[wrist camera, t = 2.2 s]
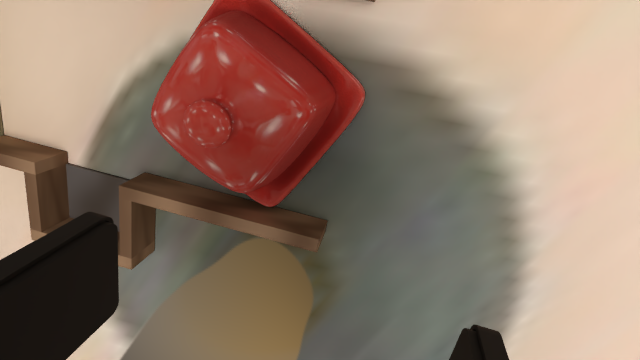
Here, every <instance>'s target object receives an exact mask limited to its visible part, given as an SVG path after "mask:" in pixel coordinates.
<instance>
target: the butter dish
mask: <svg viewBox="0 0 640 360" xmlns="http://www.w3.org/2000/svg"><path fill="white" fill-rule="evenodd" d="M364 99H365V91H364V88H363V86H362V85H361V83H360V82H359V81H358V80H357V79H356V78H355V77H354V75H353V74H351V73H350V72H349V71H348V70H347V69H346V68H345V67H344V66H343V65H342V64H341V63H340V62H339V61H337V60H336V59H335V58H334V57H333V56H332V55H331V54H330V53H329V52H327V51H326V50H325V49H324V48H323V47H322V46H321V45H320V44H319V43H317V42H316V41H315V40H314V39H313V38H312V37H311V36H310V35H309V34H308V33H307V32H305V31H304V30H303V29H302V28H301V27H300V26H298V25H297V24H296V23H295V22H294V21H293V20H292V19H291V18H290V17H288V16H287V15H286V14H285V13H284V12H283V11H282V10H280V8H278V7H277V6H276V5H275V4H274V3H273V2H272V1H271V0H214V2H213V4H212V6H211V7H210V8H209V10H208V11H207V13H206V14H205V16H204V17H203V19H202V21H201V22H200V24H199V25H198V27H197V28H196V30H195V32H194V33H193V35H192V36H191V38H190V40H189V41H188V43H187V44H186V46H185V47H184V48H183V50H182V51H181V53H180V54H179V56H178V57H177V59H176V61H175V62H174V64H173V66H172V67H171V69H170V70H169V72H168V74H167V76H166V78H165V80H164V81H163V83H162V85H161V87H160V89H159V91H158V93H157V96H156V98H155V100H154V103H153V106H152V112H151V118H152V122H153V124H154V126H155V128H156V129H157V130H158V132H159V133H160V134H161V135H162V137H163V138H164V139H165V140H166V141H167V142H168V143H169V144H170V145H171V146H172V147H173V148H174V149H175V150H176V151H177V152H179V153H180V154H181V155H182V156H183V157H184V158H185V159H186V160H187V161H189V162H190V163H191V164H192V165H194V166H195V167H196V168H197V169H199V170H200V171H201V172H202V173H204V174H205V175H207V176H208V177H210V178H211V179H213V180H214V181H216V182H217V183H219V184H221V185H222V186H224V187H226V188H228V189H230V190H232V191H235V192H239V193H245V194H246V195H248V196H249V197H250V198H252V199H253V200H255V201H257V202H258V203H260V204H262V205H264V206H267V207H273V206H275V205H278V204H279V203H280V202H281V201H282V200H283V199H284V198H285V197H286V196H287V195H288V194H289V193H290V192H291V191H292V190H293V189H294V188H295V187H296V186H297V184H298V183H299V182H300V181H301V180H302V179H303V177H305V175H306V174H307V173H308V172H309V171H310V170H311V168H312V167H313V166H314V165H315V164H316V163H317V162H318V161H319V159H320V158H321V157H322V156H323V155H324V153H325V152H326V151H327V150H328V149H329V148H330V146H331V145H333V143H334V142H335V141H336V140H337V139H338V137H339V136H340V135H341V134H342V132H343V131H344V130H345V129H346V127H347V126H348V125H349V124H350V123H351V121H352V120H353V119H354V117H355V116H356V114H357V113H358V112H359V110H360V108H361V107H362V105H363V103H364Z"/></svg>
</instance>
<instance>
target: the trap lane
mask: <svg viewBox="0 0 640 360" xmlns="http://www.w3.org/2000/svg"><path fill="white" fill-rule="evenodd" d="M368 1H373V2H375V0H368ZM0 165H1V166H5V167H9V168H12V169H16V170H19V171H23V172H24V175H25V184H26V193H27V202H28V211H29V220H30V228H31V237H32V240H35V241H36V240H37V239H39V238H41V237H43V236H45V235H46V234H48V233H50V232H52V231H54V230H55V229H57V228H59V227H61V226H63V225H64V224H66V223H68V222H70V221H71V220H73V219H75V218H77V217H79V216H80V215H82V214H84V213H86V212H95V213H98V214H101V215H105V216H108V217H111V218H112V219H113V221H114V224H115V225H116V226H117V228H118V266H121V267H125V268H128V269H131V270H132V269H133V268H134V267H135V266H136V265H138V264H139V263H140V262H141V261H142V260H144V259H145V258H146V257H147V256H148V255H150V254H151V253H152V252H153V251H154V250H155V212H156V208H157V209H161V210H165V211H168V212H172V213H175V214H179V215H183V216H186V217H190V218H194V219H197V220H201V221H204V222H208V223H212V224H215V225H219V226H223V227H226V228H230V229H234V230H237V231H241V232H244V233H248V234H252V235H255V236H259V237H263V238H266V239H270V240H273V241H277V242H281V243H284V244H288V245H292V246H295V247H299V248H302V249H306V250H310V251H313V252H317V251H318V248H319V246H320V244H321V241H322V239H323V236H324V234H325V231H326V226H327V222H328V221H327V220H323V219H319V218H316V217H312V216H308V215H304V214H301V213H297V212H293V211H289V210H285V209H282V208H278V207H274V206H273V207H267V206H264V205H262V204H260V203H258V202H255V201H251V200H247V199H244V198H240V197H236V196H232V195H229V194H225V193H221V192H217V191H213V190H210V189H206V188H202V187H198V186H194V185H191V184H187V183H183V182H179V181H175V180H172V179H168V178H164V177H160V176H157V175H153V174H149V173H143V174H141V175H139V176H137V177H135V178H133V179H131V180H128V179H125V178H121V177H117V176H113V175H110V174H106V173H102V172H98V171H95V170H91V169H87V168H84V167H80V166H76V165H72V164H69V163H68V157H67V152H66V151H62V150H58V149H54V148H50V147H47V146H43V145H39V144H35V143H31V142H28V141H24V140H20V139H16V138H13V137H9V136H5V135H4V132H3V124H2V117H1V109H0Z"/></svg>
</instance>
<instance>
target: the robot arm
mask: <svg viewBox="0 0 640 360" xmlns="http://www.w3.org/2000/svg"><path fill="white" fill-rule="evenodd" d="M118 302H119V293H118V228H117V226H116V225H115V224H114V221H113V219H112V218H111V217H108V216H105V215H101V214H98V213H95V212H86V213H84V214H82V215H80V216H79V217H77V218H75V219H73V220H71V221H70V222H68V223H66V224H64V225H63V226H61V227H59V228H57V229H55V230H54V231H52V232H50V233H48V234H46V235H45V236H43V237H41V238H39V239H37V240H36V241H34V242H32V243H30V244H28V245H27V246H25V247H23V248H21V249H19V250H18V251H16V252H14V253H12V254H10V255H9V256H7V257H5V258H3V259H1V260H0V360H66V359H67V358H68V357H69V356H70V355H71V354H72V353H73V352H74V351H75V350H76V349H77V348H78V347H79V346H81V345H82V344H83V343H84V342H85V341H86V340H87V339H88V338H89V337H90V336H91V335H92V334H93V333H94V332H95V331H96V330H97V329H98V328H99V327H100V326H101V325H102V324H103V323H104V322H106V321H107V320H108V319H109V318H110V317H111V316H112V315H113V313H114V312H115V310H116V308H117V306H118ZM449 360H509V358H508V355H507V352H506V349H505V346H504V343H503V340H502V337H501V334H500V333H499V332H498V331H495V330H492V329H488V328H485V327H481V326H478V325H473V326H472V327H471V329H466V328H464V329H463V330H462V332H461V334H460V336H459V339H458V341H457V343H456V345H455V348H454V350H453V352H452V354H451V357H450V359H449Z"/></svg>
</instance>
